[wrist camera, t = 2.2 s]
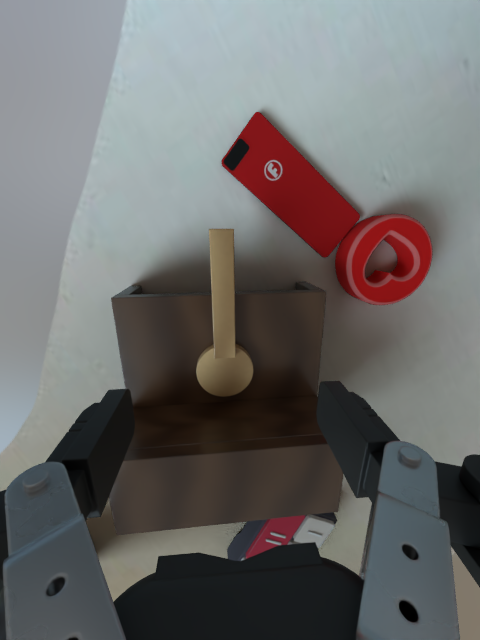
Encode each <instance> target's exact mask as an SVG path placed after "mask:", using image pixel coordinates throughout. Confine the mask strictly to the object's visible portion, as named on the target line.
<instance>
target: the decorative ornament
mask: <svg viewBox="0 0 480 640" xmlns="http://www.w3.org/2000/svg"><path fill="white" fill-rule="evenodd" d="M382 240H385V241H386V242H387V243H389V244H390V245H391V246H392V247H393V249H394V250H395V252H396V254H397V259H398V261H397V265H396V267H395V269H394V270H393V271H392V272H390V273H388V272H383V271H378V270H375V271H374V272H373V273H372V274H371V275H370V276H369V277H367V278H366V277H365V267H366V264H367V262H368V259H369V257H370V256H371V254H372V252H373V251H374V250H375V248H376V247H377V246H378V245H379V243H380V242H381V241H382ZM431 261H432V244H431V240H430V237H429V234H428V232H427V230H426V229H425V227H424V226H423V225H422V224H421V223H420V222H419V221H417V220H416V219H414V218H412V217H410V216H407V215H402V214H389V215H380V216H373V217H370V218H367V219H365V220H362V221H361V222H359V223H357V224H356V225H355V226H354V227H352V228H351V230H350V231H349V232H348V233H347V234H346V235H345V237H344V238H343V239H342V241H341V243H340V245H339V247H338V250H337V253H336V259H335V269H336V275H337V278H338V281H339V283H340V285H341V286H342V287H343V289H344V290H345V291H346V292H347V293H348V294H350V295H351V296H353V297H355V298H358V299H360V300H362V301H364V302H367V303H369V304H373V305H388V304H393V303H396V302H399V301H401V300H403V299H405V298H406V297H408V296H409V295H411V294H412V293H413V292H414V291H415V290H416V289H417V288H418V287H419V286H420V285H421V283H422V282H423V281H424V279H425V277H426V275H427V273H428V271H429V268H430V265H431Z"/></svg>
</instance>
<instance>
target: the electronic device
mask: <svg viewBox="0 0 480 640" xmlns="http://www.w3.org/2000/svg"><path fill="white" fill-rule="evenodd" d="M222 166H223V167H224V168H225V169H226V170H227V171H229V172H230V173H231V174H232V175H233V176H234V177H235V178H236V179H237V180H238V181H240V182H241V183H242V184H243V185H244V186H245V187H246V188H247V189H248V190H249V191H250V192H252V193H253V194H254V195H255V196H256V197H257V198H258V199H259V200H260V201H261V202H263V203H264V204H265V205H266V206H267V207H268V208H269V209H270V210H271V211H272V212H274V213H275V214H276V215H277V216H278V217H279V218H280V219H281V220H282V221H283V222H285V223H286V224H287V225H288V226H289V227H290V228H291V229H292V230H293V231H294V232H296V233H297V234H298V235H299V236H300V237H301V238H302V239H303V240H304V241H305V242H307V243H308V244H309V245H310V246H311V247H312V248H313V249H314V250H315V251H316V252H317V253H319V254H320V255H321V256H322V257H328V256H329V254H330V253H331V252H332V251H333V250H334V249H335V247H336V246H337V245H338V244H339V243H340V241H341V240H342V239H343V238H344V237H345V235H346V234H347V233H348V232H349V231H350V230H351V228H352V227H353V226H354V225H355V224H356V222H357V221H358V220H359V219H360V215H359V213H358V212H357V211H356V210H355V209H354V208H353V207H352V206H351V205H350V204H349V203H348V202H347V201H346V200H345V199H344V198H343V197H342V196H341V195H340V194H339V193H338V192H337V191H336V190H335V189H334V188H333V187H332V186H331V185H330V184H329V183H328V182H327V181H326V180H325V178H324V177H323V176H322V175H321V174H320V173H319V172H318V171H317V170H316V169H315V168H314V167H313V166H312V165H311V164H310V163H309V162H308V161H307V160H306V159H305V158H304V157H303V156H302V155H301V154H300V153H299V152H298V151H297V150H296V149H295V148H294V147H293V146H292V145H291V144H290V143H289V142H288V141H287V140H286V139H285V138H284V136H283V135H282V134H281V133H280V132H279V131H278V130H277V129H276V128H275V127H274V126H273V125H272V124H271V123H270V122H269V121H268V120H267V119H266V118H265V117H264V116H263V115H262V114H261V113H260V112H256V113H255V114H254V115H253V117H252V118H251V119H250V121H249V122H248V124H247V125H246V127H245V128H244V129H243V131H242V132H241V134H240V135H239V137H238V138H237V139H236V141H235V142H234V144H233V145H232V147H231V148H230V149H229V151H228V152H227V154H226V155H225V157H224V158H223V159H222Z"/></svg>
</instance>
